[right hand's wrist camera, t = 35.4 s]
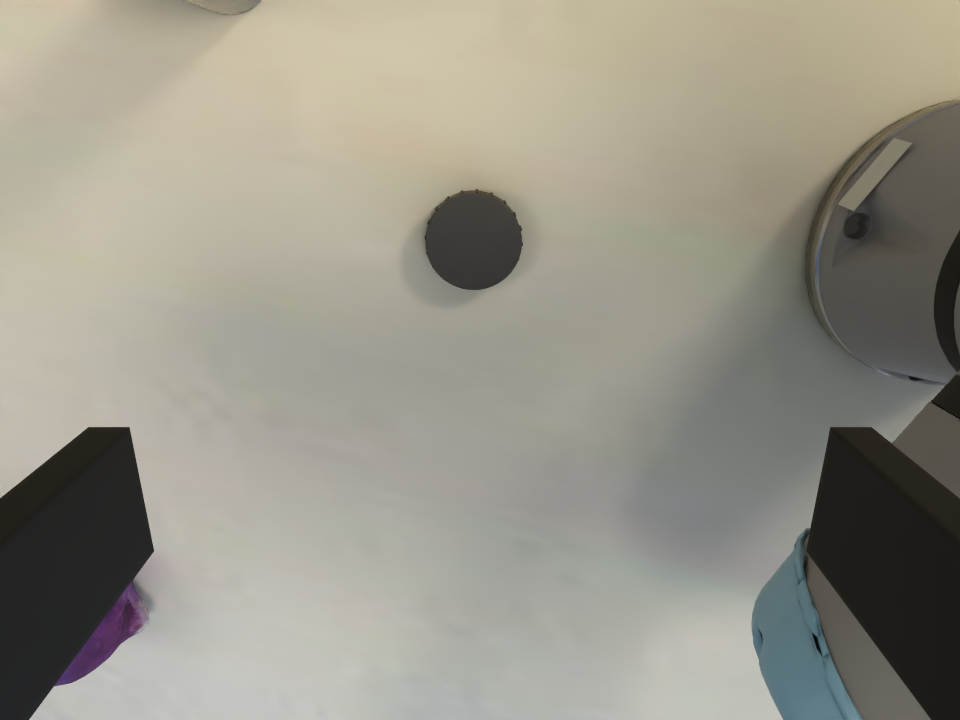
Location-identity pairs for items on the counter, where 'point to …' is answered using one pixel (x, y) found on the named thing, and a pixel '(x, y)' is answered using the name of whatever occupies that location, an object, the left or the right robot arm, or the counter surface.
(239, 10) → the jar
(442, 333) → the counter surface
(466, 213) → the lid
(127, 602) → the figurine
